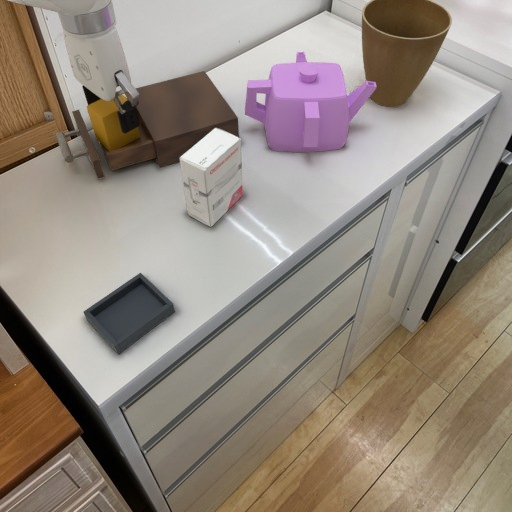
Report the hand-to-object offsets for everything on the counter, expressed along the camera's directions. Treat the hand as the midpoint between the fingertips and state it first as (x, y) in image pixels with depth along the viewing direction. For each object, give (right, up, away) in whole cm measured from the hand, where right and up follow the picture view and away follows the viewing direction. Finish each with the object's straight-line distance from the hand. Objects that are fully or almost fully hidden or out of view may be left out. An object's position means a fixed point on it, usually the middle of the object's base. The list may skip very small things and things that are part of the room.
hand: (113, 115), depth 88 cm
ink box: (+17, -15, -4) cm, 23 cm away
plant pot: (+49, +7, +14) cm, 52 cm away
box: (0, -3, +3) cm, 5 cm away
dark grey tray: (+7, -31, -17) cm, 36 cm away
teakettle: (+33, 0, +8) cm, 34 cm away
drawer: (-1, -4, +4) cm, 6 cm away
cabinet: (+11, 0, +8) cm, 13 cm away
